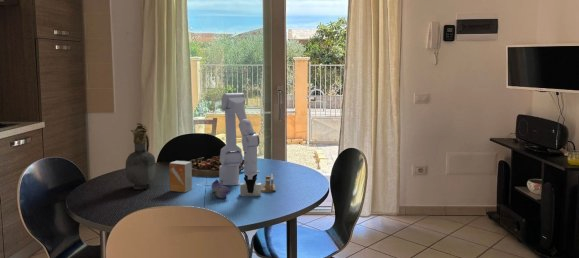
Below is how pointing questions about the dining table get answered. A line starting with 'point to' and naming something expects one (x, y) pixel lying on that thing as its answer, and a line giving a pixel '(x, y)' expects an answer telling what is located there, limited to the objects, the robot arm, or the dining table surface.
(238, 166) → the robot arm
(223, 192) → the flower
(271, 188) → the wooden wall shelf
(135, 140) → the pitcher
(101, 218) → the dining table surface
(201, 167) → the food dish
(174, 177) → the small box
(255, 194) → the gray rectangular block
